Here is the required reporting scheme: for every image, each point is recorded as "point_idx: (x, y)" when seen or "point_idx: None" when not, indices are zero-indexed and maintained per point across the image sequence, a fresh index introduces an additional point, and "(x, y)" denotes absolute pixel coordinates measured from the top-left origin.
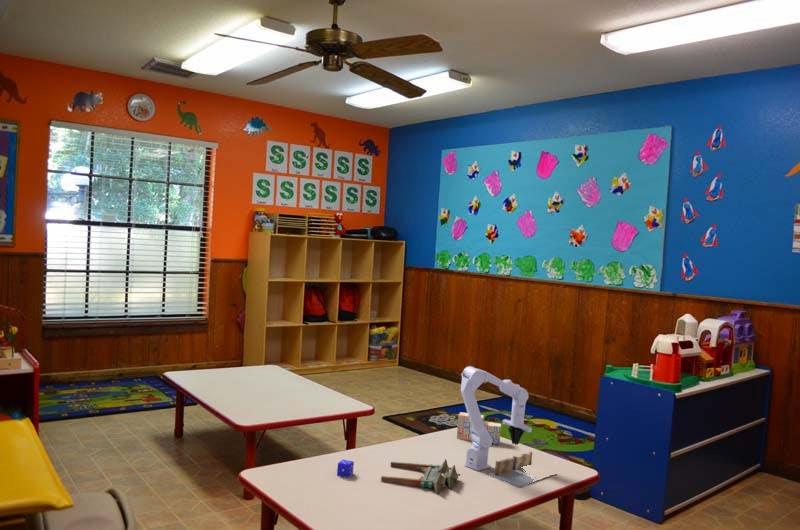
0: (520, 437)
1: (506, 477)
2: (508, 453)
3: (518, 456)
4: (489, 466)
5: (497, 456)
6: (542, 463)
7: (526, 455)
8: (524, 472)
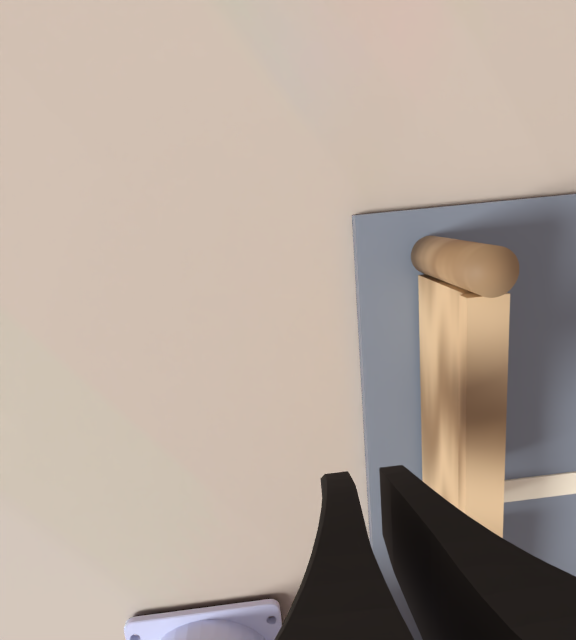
0: (486, 540)
1: None
2: (27, 143)
3: (484, 521)
4: (278, 626)
5: (70, 347)
6: (449, 29)
7: (504, 386)
8: (524, 461)
